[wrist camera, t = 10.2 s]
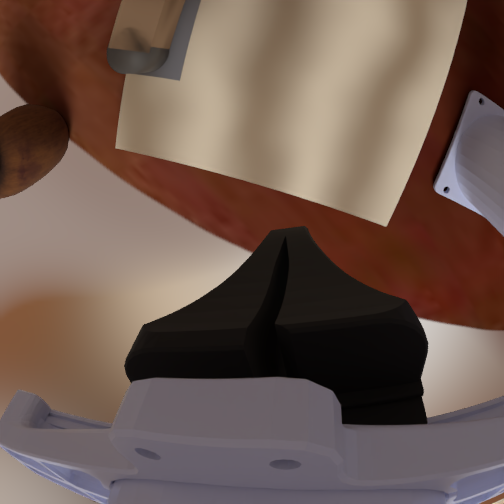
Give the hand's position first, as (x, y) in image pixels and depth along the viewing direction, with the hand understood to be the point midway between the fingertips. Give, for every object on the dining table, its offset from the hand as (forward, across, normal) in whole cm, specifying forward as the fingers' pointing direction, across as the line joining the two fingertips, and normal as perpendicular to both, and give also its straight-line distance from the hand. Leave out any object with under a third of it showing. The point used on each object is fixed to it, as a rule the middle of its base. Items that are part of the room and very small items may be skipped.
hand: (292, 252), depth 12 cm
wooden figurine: (+11, +18, -7) cm, 22 cm away
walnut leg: (+8, +3, -15) cm, 17 cm away
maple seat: (+10, -2, -9) cm, 14 cm away
